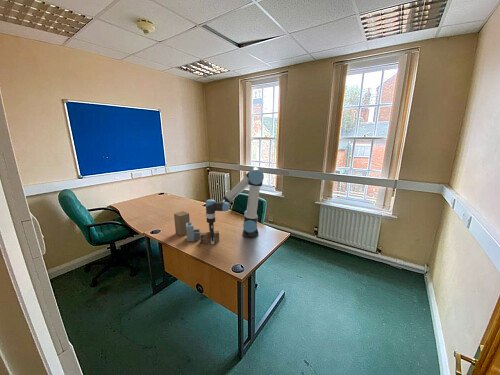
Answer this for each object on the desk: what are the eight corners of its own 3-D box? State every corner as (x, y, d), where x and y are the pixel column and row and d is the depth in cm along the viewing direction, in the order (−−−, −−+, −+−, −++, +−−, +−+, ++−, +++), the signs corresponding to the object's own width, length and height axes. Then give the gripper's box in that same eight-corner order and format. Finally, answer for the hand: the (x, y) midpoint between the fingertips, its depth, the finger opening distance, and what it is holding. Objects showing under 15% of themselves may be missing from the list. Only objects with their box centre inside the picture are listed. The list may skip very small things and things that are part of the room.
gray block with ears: (199, 235, 192) (198, 219, 188) (200, 239, 185) (199, 222, 181) (187, 237, 189) (186, 220, 185) (187, 241, 182) (185, 224, 178)
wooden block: (184, 229, 204) (183, 210, 200) (190, 232, 198) (189, 213, 193) (175, 233, 197) (173, 213, 192) (181, 236, 191) (179, 216, 186)
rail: (218, 239, 186) (218, 230, 184) (219, 241, 182) (219, 232, 180) (200, 241, 182) (200, 233, 180) (200, 243, 178) (200, 235, 176)
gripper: (205, 213, 187) (206, 235, 192) (207, 223, 165) (208, 248, 171) (213, 212, 189) (214, 234, 194) (216, 222, 167) (217, 246, 173)
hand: (212, 240), depth 182 cm, fingers open, 11 cm apart
